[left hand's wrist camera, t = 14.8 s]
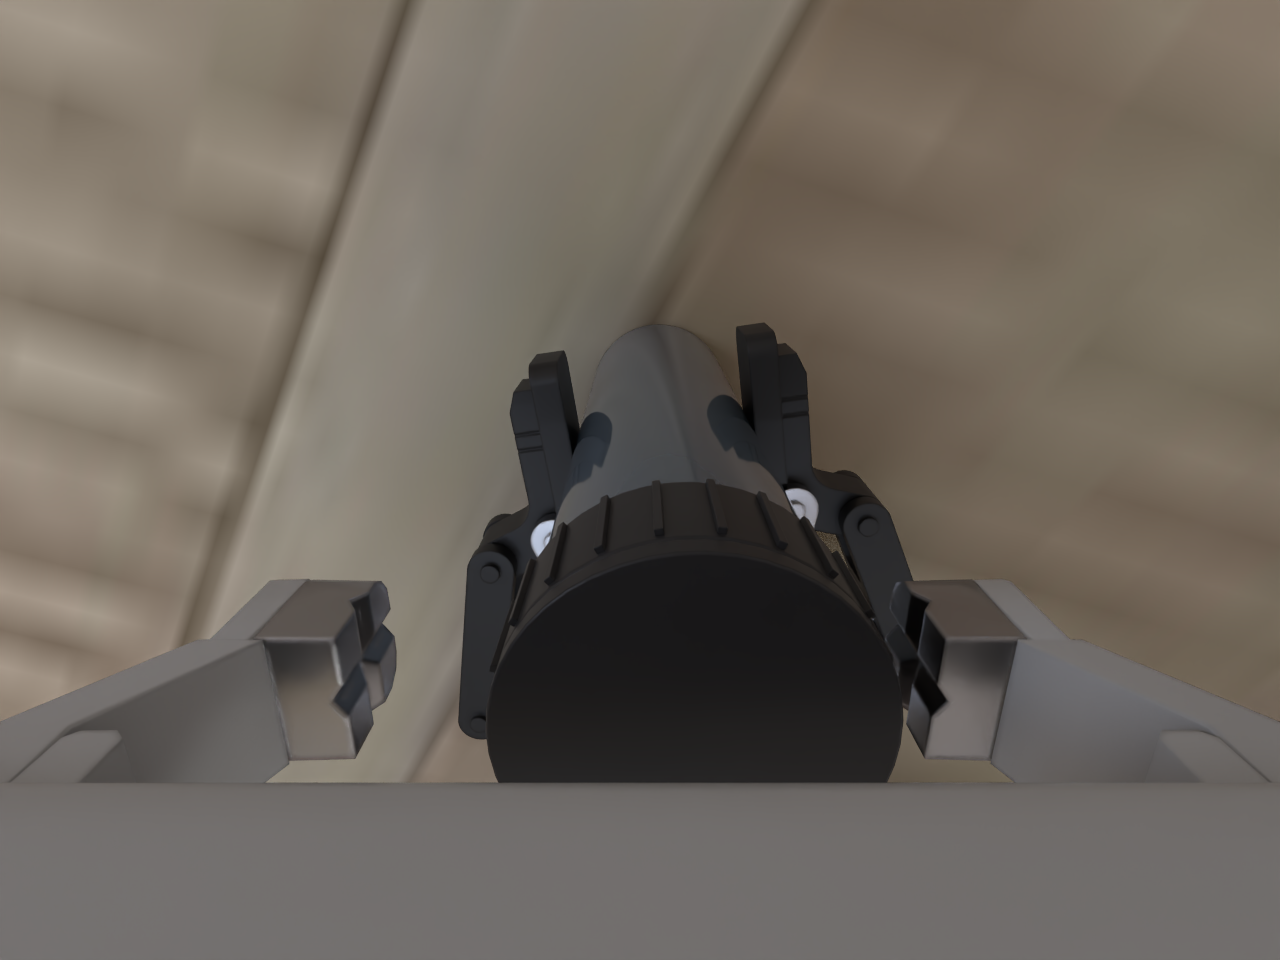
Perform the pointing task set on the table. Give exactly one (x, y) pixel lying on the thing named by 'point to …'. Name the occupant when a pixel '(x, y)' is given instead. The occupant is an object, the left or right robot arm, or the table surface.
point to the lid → (691, 651)
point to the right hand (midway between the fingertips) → (649, 346)
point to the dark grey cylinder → (662, 425)
